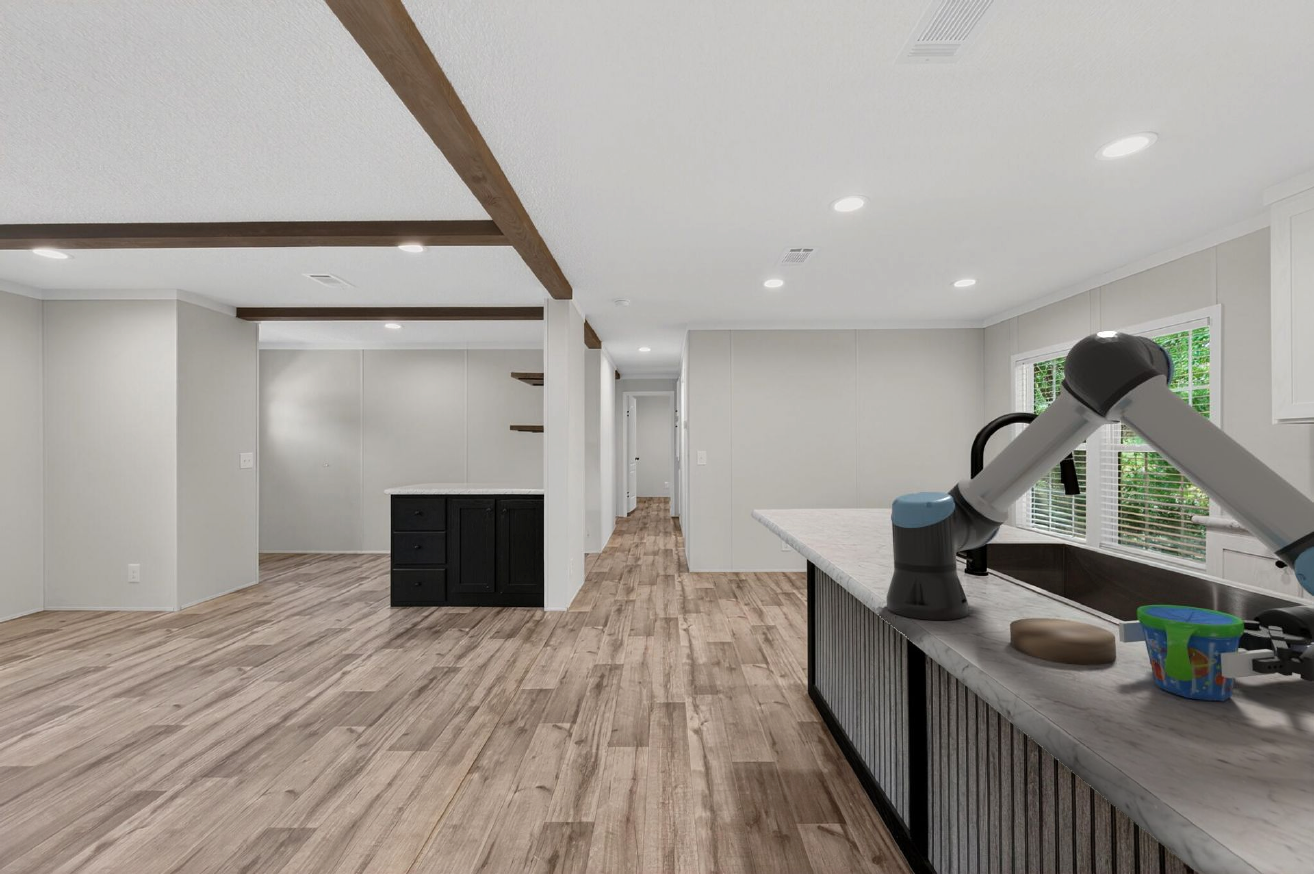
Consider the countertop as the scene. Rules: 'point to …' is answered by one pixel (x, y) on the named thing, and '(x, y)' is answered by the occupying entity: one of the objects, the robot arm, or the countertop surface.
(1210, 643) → the snack cup
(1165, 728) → the countertop surface
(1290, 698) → the countertop surface
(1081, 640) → the walnut pedestal
